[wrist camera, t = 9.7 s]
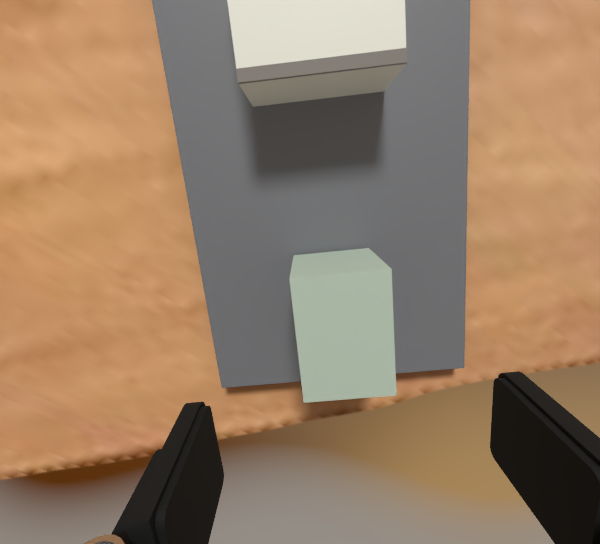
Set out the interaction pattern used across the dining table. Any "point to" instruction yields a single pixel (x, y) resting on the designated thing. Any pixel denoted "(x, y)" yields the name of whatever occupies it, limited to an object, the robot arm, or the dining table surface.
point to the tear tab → (343, 325)
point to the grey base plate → (322, 163)
